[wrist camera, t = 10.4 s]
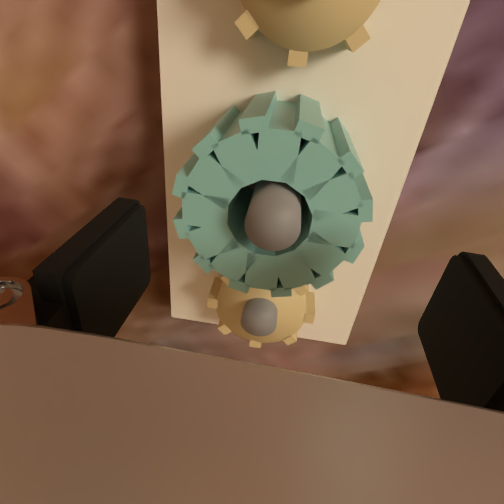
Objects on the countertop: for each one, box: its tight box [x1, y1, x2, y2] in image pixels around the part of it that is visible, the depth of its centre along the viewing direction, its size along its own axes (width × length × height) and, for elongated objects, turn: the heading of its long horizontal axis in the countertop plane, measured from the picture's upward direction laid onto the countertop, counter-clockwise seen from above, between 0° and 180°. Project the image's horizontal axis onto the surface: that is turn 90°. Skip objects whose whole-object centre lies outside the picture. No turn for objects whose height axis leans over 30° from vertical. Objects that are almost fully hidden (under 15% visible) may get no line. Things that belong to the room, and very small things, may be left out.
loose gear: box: [172, 91, 373, 297], centre depth 15 cm, size 8×8×5 cm
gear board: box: [157, 0, 470, 348], centre depth 16 cm, size 12×23×8 cm, turn 174°
